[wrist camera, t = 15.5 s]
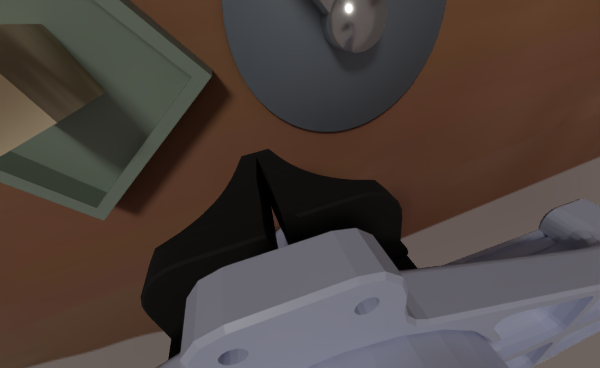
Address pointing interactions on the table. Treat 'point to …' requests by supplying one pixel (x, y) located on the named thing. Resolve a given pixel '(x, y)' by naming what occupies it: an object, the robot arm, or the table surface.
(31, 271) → the table surface
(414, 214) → the table surface
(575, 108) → the table surface
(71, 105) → the wooden block
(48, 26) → the tray
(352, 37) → the crank
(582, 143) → the table surface
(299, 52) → the crank base
